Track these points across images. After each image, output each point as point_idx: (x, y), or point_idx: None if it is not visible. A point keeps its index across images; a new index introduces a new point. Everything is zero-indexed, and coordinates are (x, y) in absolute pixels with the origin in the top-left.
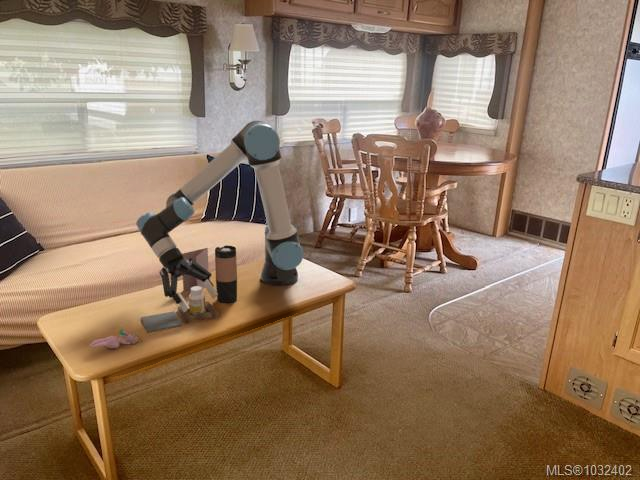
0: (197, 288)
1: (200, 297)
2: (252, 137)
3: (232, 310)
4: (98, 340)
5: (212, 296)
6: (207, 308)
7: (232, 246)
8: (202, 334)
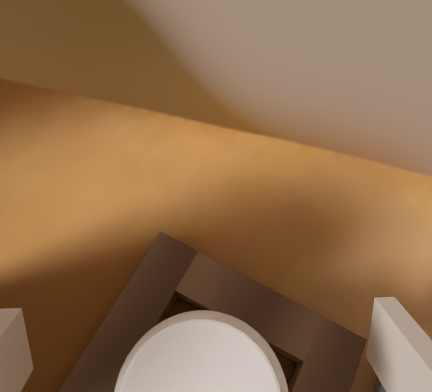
0: (197, 386)
1: (223, 314)
2: None
3: (34, 240)
4: None
5: (23, 371)
6: None
7: None
8: (360, 173)
